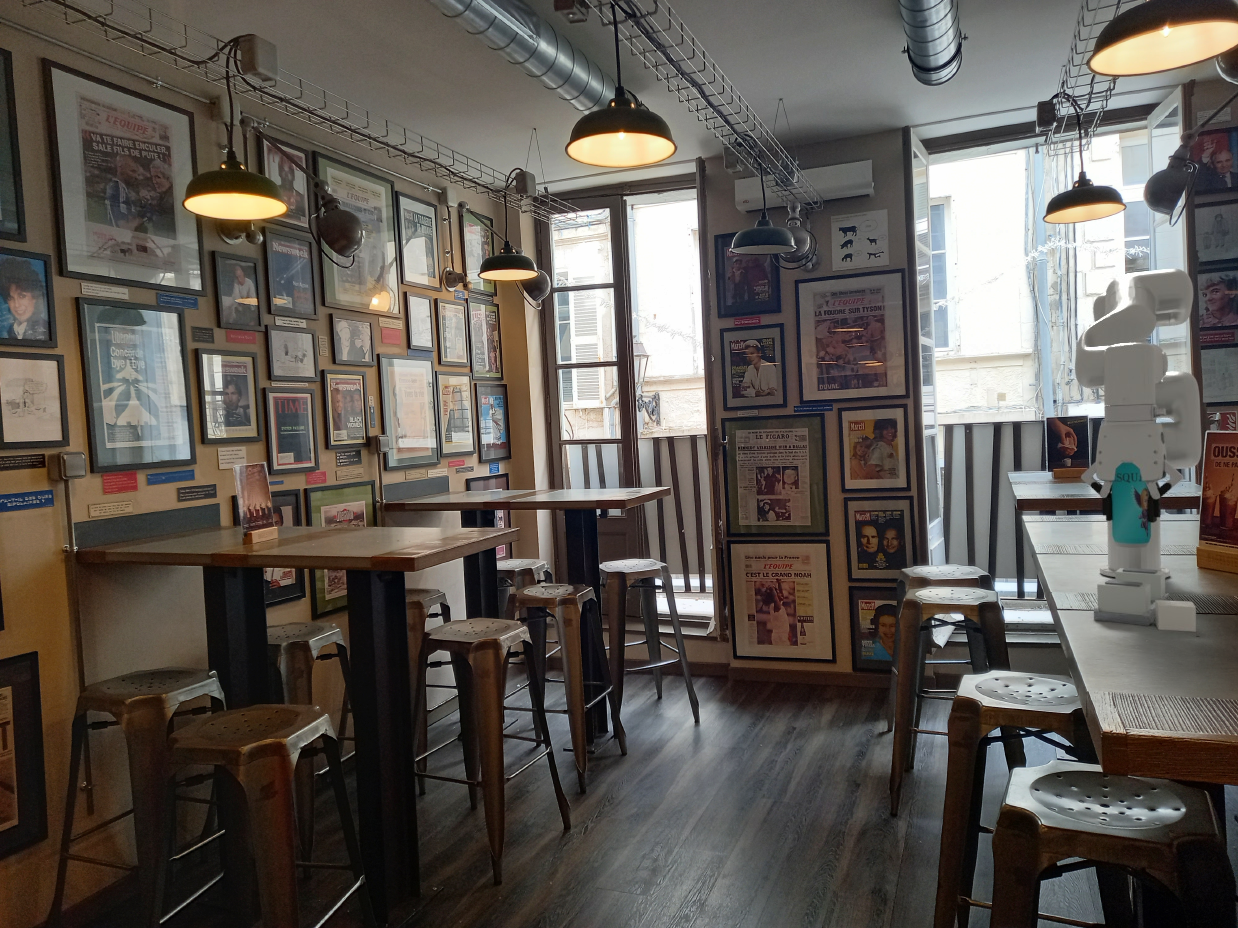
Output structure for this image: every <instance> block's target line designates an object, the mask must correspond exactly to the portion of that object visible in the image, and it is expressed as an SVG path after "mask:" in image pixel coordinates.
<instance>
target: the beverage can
mask: <svg viewBox="0 0 1238 928" xmlns="http://www.w3.org/2000/svg"><path fill="white" fill-rule="evenodd" d="M1121 462H1123V463H1121V464H1120V465H1119V466H1118V467H1117V468H1116V470H1115V479H1114V481H1113V482H1112V536H1113V538H1114V541H1115V543H1116V545H1117V546H1119V547H1127V548H1143V547H1146V546H1147V545H1148V543H1149V541H1150V538H1151V523H1150V522H1149V521H1148V500H1149V499H1150V495H1151V493H1150V491H1149V489H1148V487H1147V484H1146V482H1144V481H1143V480H1142V477H1141V472H1140V469H1139V468H1138V467H1137V466H1136V465H1135V464H1133V463H1132V462H1134V460H1121Z"/></svg>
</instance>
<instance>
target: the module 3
mask: <svg viewBox="0 0 1238 928" xmlns="http://www.w3.org/2000/svg"><path fill="white" fill-rule="evenodd" d="M1196 608H1197V607H1196V605H1195V604H1194V603H1193V602H1192V601H1188V600H1186V601H1185V600H1183V601H1181V600H1169V601H1165V600H1155V620H1154V622H1155V626H1156V627H1157V630H1162V631H1181V632H1197V609H1196Z"/></svg>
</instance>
